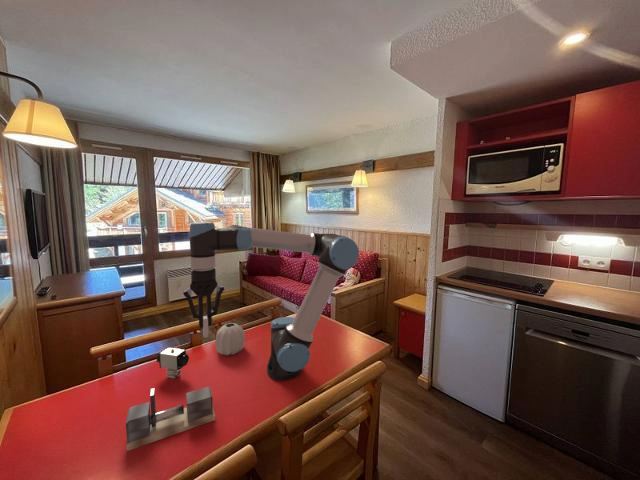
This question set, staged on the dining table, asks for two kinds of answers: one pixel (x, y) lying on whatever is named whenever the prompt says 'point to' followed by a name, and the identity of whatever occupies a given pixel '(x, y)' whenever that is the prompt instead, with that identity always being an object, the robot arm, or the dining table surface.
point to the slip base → (193, 416)
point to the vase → (230, 339)
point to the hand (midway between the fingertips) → (205, 335)
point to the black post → (163, 414)
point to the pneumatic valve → (172, 361)
